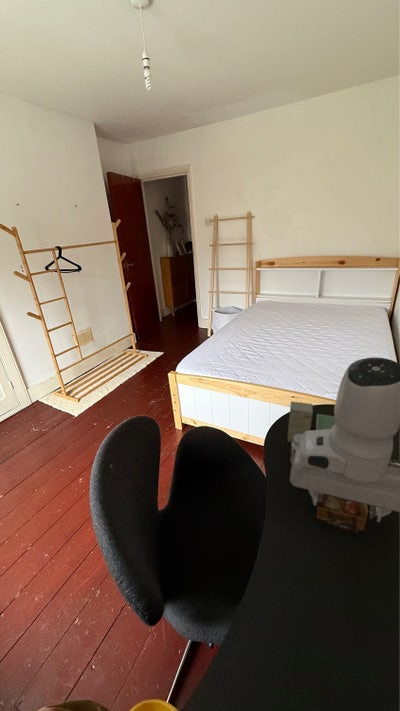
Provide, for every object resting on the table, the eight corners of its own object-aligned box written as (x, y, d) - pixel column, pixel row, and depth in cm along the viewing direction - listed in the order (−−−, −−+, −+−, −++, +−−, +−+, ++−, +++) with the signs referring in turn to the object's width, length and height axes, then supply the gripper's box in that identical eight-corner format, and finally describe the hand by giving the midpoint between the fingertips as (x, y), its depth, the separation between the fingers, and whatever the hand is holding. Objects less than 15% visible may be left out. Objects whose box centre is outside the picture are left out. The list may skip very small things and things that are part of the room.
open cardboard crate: (365, 547, 56) (370, 528, 53) (316, 533, 59) (319, 515, 56) (357, 476, 70) (361, 459, 68) (318, 467, 73) (320, 451, 71)
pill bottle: (311, 464, 82) (314, 441, 78) (297, 470, 80) (299, 447, 77) (300, 453, 86) (302, 430, 82) (286, 458, 84) (288, 435, 81)
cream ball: (328, 500, 64) (330, 490, 63) (341, 512, 62) (343, 501, 60) (318, 507, 63) (319, 497, 62) (330, 519, 61) (332, 509, 59)
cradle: (367, 540, 62) (374, 518, 59) (305, 523, 67) (308, 501, 64) (362, 493, 73) (367, 471, 70) (308, 480, 77) (310, 459, 74)
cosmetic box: (287, 442, 90) (289, 409, 85) (288, 432, 94) (290, 400, 89) (309, 445, 88) (312, 412, 83) (309, 436, 92) (312, 403, 87)
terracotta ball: (348, 505, 63) (350, 495, 62) (361, 517, 60) (364, 506, 59) (337, 512, 62) (339, 502, 60) (351, 525, 59) (353, 514, 58)
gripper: (428, 453, 47) (407, 511, 53) (294, 429, 55) (289, 483, 61) (440, 484, 42) (416, 545, 48) (291, 453, 49) (286, 509, 55)
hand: (344, 510), depth 54 cm, fingers open, 8 cm apart
